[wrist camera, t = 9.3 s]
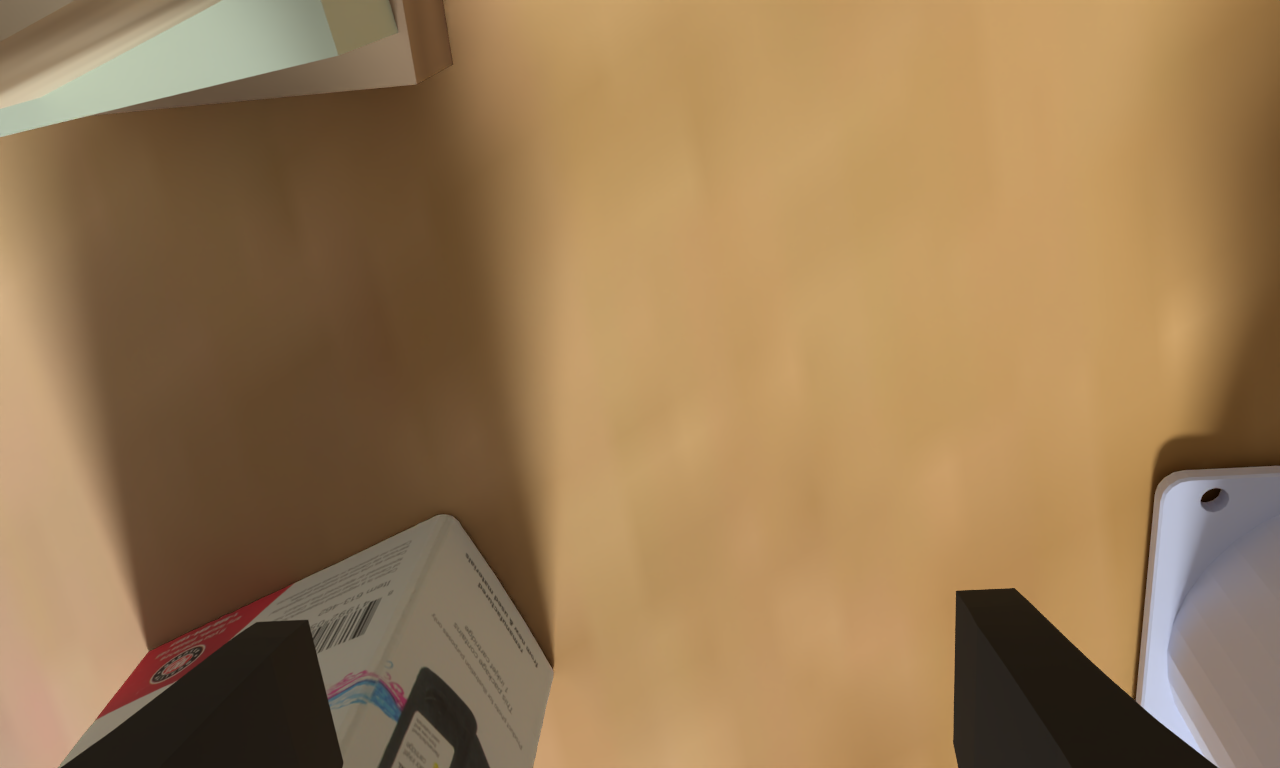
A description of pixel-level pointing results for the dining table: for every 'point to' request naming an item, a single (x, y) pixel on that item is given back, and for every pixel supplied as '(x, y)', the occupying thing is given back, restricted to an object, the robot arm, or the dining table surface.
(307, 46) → the sage top block
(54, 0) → the maple block
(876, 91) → the dining table surface
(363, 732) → the ink box
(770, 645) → the dining table surface
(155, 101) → the walnut base block
